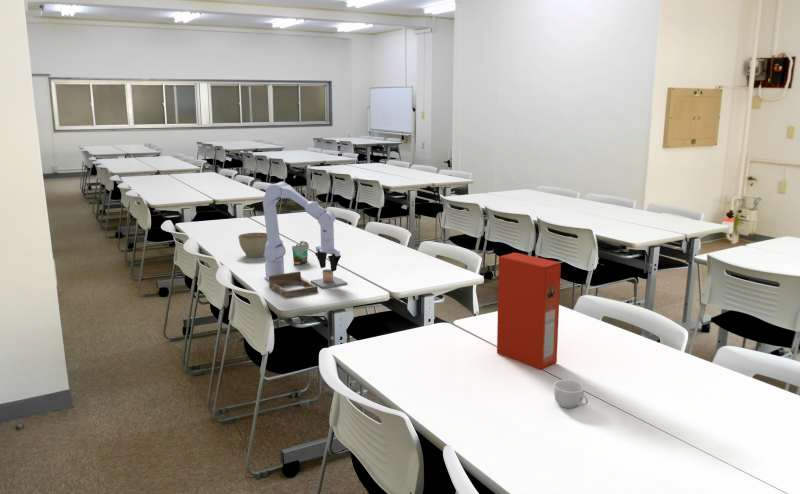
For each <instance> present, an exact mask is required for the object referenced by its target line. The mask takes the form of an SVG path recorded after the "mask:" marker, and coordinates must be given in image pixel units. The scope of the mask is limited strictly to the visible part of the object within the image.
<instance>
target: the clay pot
mask: <svg viewBox="0 0 800 494" xmlns="http://www.w3.org/2000/svg"><path fill="white" fill-rule="evenodd" d="M333 277H334V271H331V268H330V269H329V268H326V269H323V270H322V279H323V282H324V283H332V282H333Z"/></svg>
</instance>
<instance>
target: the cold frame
mask: <svg viewBox="0 0 800 494" xmlns="http://www.w3.org/2000/svg"><path fill="white" fill-rule="evenodd" d="M301 273H302V272H301V270H298V271H292V272H286V273H285V272H284V274H279V275H272V276H269V281H268V285H269V286H268V287H269V288H270V289H271V290H273V291H274V292H275V293H277V294H279V295H281V296H283V297H284V298H285V299H287V298H292V297H298V296H304V295H308V294H315V293H319V289H318V287H319V286H317V285H315V284H313V283H311V281H309V280H307V279H305V278H303V277H302V274H301ZM294 284H300V286H301V285H302V286H303V287H301V288H296V289H295V288H294V289H290V290H287V289H285V288H283V287H284V286H288V285H294Z"/></svg>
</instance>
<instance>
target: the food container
mask: <svg viewBox="0 0 800 494" xmlns="http://www.w3.org/2000/svg"><path fill="white" fill-rule="evenodd" d="M299 241H300V242H299V243H297V244H296V245H292V247H291V251H292V256H293V257H292V258H293V266H304V265H307V264H308V251H309V250H308V249H309V248H310V246H309V243H308V242H307V241H304V240H299Z"/></svg>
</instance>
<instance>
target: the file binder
mask: <svg viewBox="0 0 800 494" xmlns="http://www.w3.org/2000/svg"><path fill="white" fill-rule="evenodd" d="M561 268H562V263H561V262H559V261H555V260H551V259H546V258H542V257H537V256H533V255H529V254H524V253H519V252H512V253H508V254H504V255H500V256H498V271H497V272H498V277H497V279H498V281H497V286H498V287H497V323H496V324H497V327H496V328H497V331H496V332H497V333H496V334H497V335H496V336H497V337H496V338H497V340H496V354H498V355H500V356H503V357H506V358H508V359H510V360H513V361H515V362H517V363H522V364H525V365H527V366H529V367H533V368H534V369H537V370H540V371H543V370H545V369H547V368H550V367H551V366H554V365H556V363H557V362H558V342H559V341H558V339H559V315H560V314H559V313H560V296H561V295H560V294H561V274H562V273H561V271H562V270H561Z"/></svg>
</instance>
